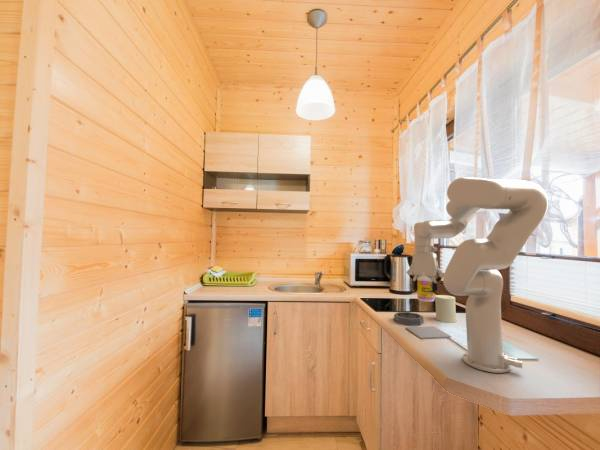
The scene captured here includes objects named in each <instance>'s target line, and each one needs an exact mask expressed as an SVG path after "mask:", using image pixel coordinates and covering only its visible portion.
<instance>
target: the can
mask: <svg viewBox="0 0 600 450" xmlns="http://www.w3.org/2000/svg"><path fill="white" fill-rule="evenodd" d="M434 302H435V320H436V321H438V322H440V323H446V324H447V323H451V324H452V323H453V324H454V323H456V322H457V311H456V309H457V308H456V297H455V296H454V295H453V296H452V295H447V294H437V295H434Z"/></svg>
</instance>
